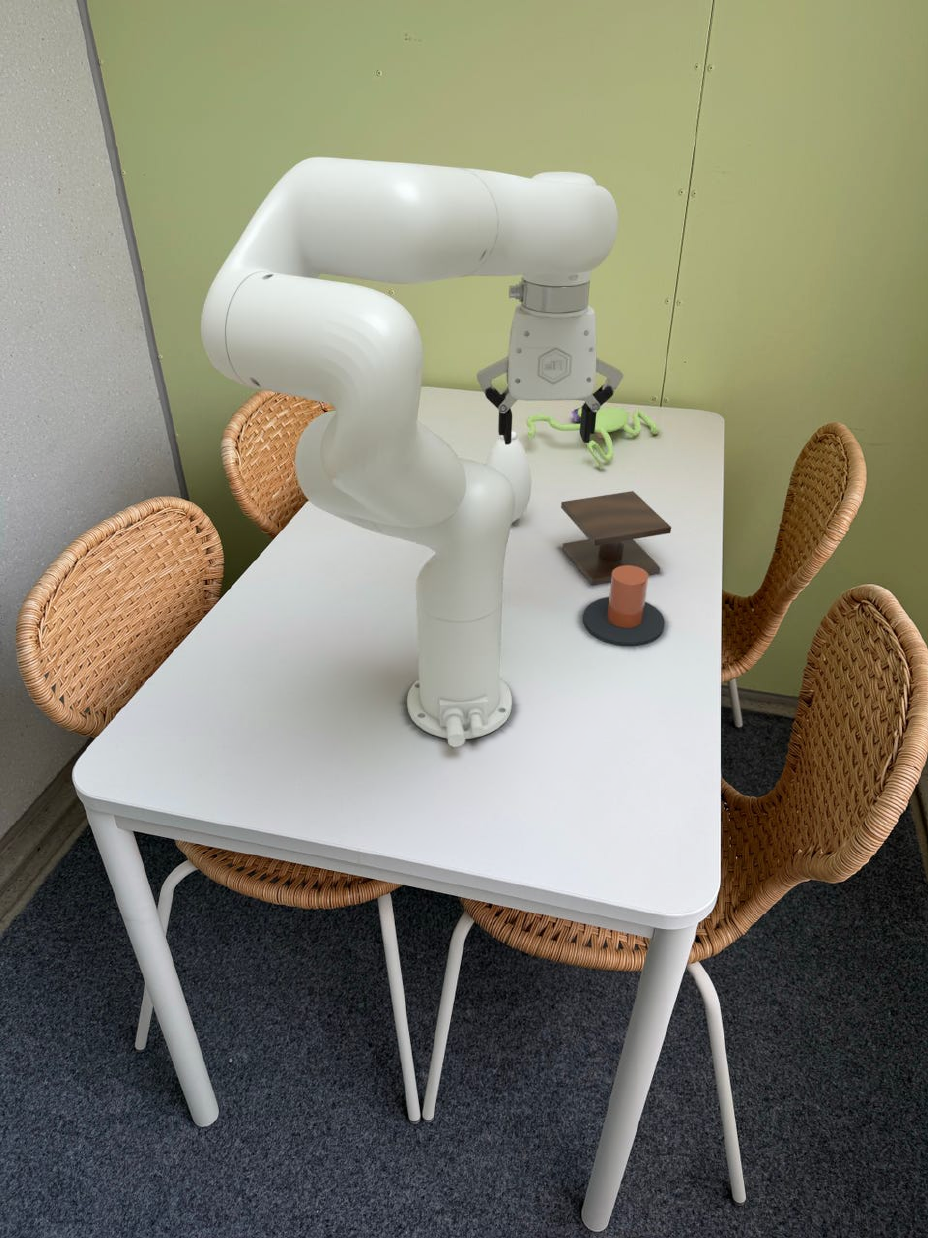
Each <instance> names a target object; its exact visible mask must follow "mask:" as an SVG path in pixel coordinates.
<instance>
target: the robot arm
mask: <svg viewBox="0 0 928 1238" xmlns="http://www.w3.org/2000/svg"><path fill="white" fill-rule="evenodd" d="M618 228H619V214H618V208H617V205H616V202H615V199H614V197H613V196H612V194H611V192H610V191H609V190H608V189H607V188H605V187H604V186H602V185H597V183H596V181H595V179H594V178H593V177H592V176H590V175H588V174H586V173H581V172H575V171H547V172H540V173H537V174H535V175H534V176H532V177H531V178H530V177H525V176H521V175H516V174H511V173H505V172H500V171H494V170H485V169H479V168H472V167H471V168H468V167H467V168H466V167H455V166H445V165H444V166H443V165H432V164H423V163H422V164H421V163H411V162H400V161H399V162H396V161H382V160H370V159H369V160H368V159H355V158H341V157H329V156H312V157H307V158H305V159H302V160H300V161H299V162H298V163H296V164H295V165H293V166H292V167H291V168H290V169H289V170H288V171H287V172H286V173H284V174H283V176H282V177H280V179H279V180H278V181H277V182H276V184H275V185H274V186H273V187H272V188H271V190H270V191H269V192H268V194H267V195H266V197H265V198H264V199H263V201H262V202H261V204H260V205H259V207H258V208H257V210H256V211H255V213H254V214H253V216H252V217H251V219H250V220H249V222H248V224H247V226H246V227H245V229H244V231H243V232H242V234H241V235H240V237H239V239H238V240H237V242H236V244H235V245H234V246H233V248H232V250H231V251H230V253H229V254H228V256H227V258H226V259H225V261H223V264H222V265H221V267H220V268H219V270H218V272H217V273H216V276H215V277H214V279H213V281H212V282H211V285H210V287H209V289H208V291H207V293H206V294H207V295H206V296H205V300H204V303H203V307H202V310H201V311H202V312H201V318H200V337H201V343H202V347H203V350H204V352H205V354H206V356H207V358H208V360H209V362H210V363H211V365H212V367H213V368H215V370H217V372H218V373H219V374H221V375H222V376H223V377H225V378H226V379H228V380H230V381H232V382H234V383H236V384H238V385H242V386H246V387H248V388H251V389H256V390H262V391H267V392H271V393H277V394H281V395H286V396H291V397H296V398H300V399H304V400H305V399H306V400H309V401H314V402H319V403H323V404H324V403H325V404H329V405H331V406H332V407H333V408H334V410H329V411H326V412H323V413H321V414H319V415H318V416H316V417H315V418H314V419H312V420H311V421H310V422H309V423H308V424H307V426H306V427H305V429H304V430H303V432H302V433H301V435H300V436H299V437H300V438H299V439H298V442H297V445H296V449H295V455H294V470H295V477H296V479H297V483H298V486H299V488H300V490H301V491H302V493H303V495H304V497H305V498H306V500H308V501H309V503H311V504H312V505H313V506H314V507H316V508H318V509H320V510H321V511H324V512H325V513H327V514H330V515H332V516H335V517H337V518H339V519H341V520H344V521H346V522H348V523H350V524H353V525H355V526H357V527H360V528H362V529H365V530H368V531H371V532H374V533H377V534H381V535H385V536H389V537H392V538H396V539H400V540H404V541H407V542H411V543H415V544H417V545H420V546H423V547H427V548H430V549H431V550H433V551H434V555H432V556H431V557H430V558H429V559H428V560H427V561H426V562H425V563H424V565H423V566H422V567H421V569H420V570H419V572H418V575H417V577H416V583H415V604H416V605H415V607H416V631H417V656H418V657H417V659H418V677H419V678H418V679H416V680H415V681H414V683H413V684H412V685H411V686H410V688H409V690H408V693H407V697H406V705H407V707H406V708H407V711H408V715H409V716H410V719H411V721H412V722H413V723H414V724H415V725H416V726H417V727H419V728H420V729H422V730H423V731H424V732H426V733H428V734H429V735H431V736H432V735H433V736H436V737H439V738H443V739H447V743H448V745H449V746H450V747H453V748H459V747H462V746H463V745H464V744H465V743H466V740H471V739H475V738H480V737H483V736H485V735H488V734H491V733H493V732H494V731H496V730H498V729H499V728H501V727H502V725H504V724H505V723H506V722H507V720H508V719H509V717H510V716H511V712H512V709H513V708H512V707H513V695H512V692H511V689H510V687H509V686H508V685H507V683H506V681H504V680H503V679H502V678H501V656H502V655H501V653H502V652H501V651H502V648H501V647H502V623H503V622H502V621H503V619H502V618H503V617H502V616H503V615H502V614H503V588H504V587H503V585H504V571H505V569H504V568H505V560H506V553H507V547H508V543H509V542H508V541H509V538H510V537H509V536H510V532H511V528H512V525H513V522H512V520H513V515H514V509H515V494H514V489H513V487H512V484H511V483H510V481H509V480H508V479H507V478H506V477H505V476H504V475H503V474H502V473H501V472H499V471H498V470H496V469H494V468H492V467H490V466H487V465H486V463H482V462H479V461H475V460H472V459H467V458H462V457H460V456H459V455H458V454H457V453H456V451H455V450H454V448H453V447H452V446H451V445H450V444H449V443H448V442H447V441H445V440H444V439H443V437H441V436H440V435H438V434H437V433H436V432H434V431H433V430H432V429H430V428H429V427H427V425H426V424H424V423H422V422H421V421H420V420H419V419H418V417H419V407H420V401H421V394H422V393H421V392H422V382H423V373H424V371H423V370H424V348H423V346H424V345H423V341H422V337H421V334H420V330H419V328H418V325H417V323H416V322H415V319H414V318H413V316H412V315H411V313H410V312H409V311H408V310H407V308H406V307H404V305H402V304H401V303H400V302H399V301H397V300H396V299H394V298H393V297H391V296H389V295H388V294H386V293H383V292H381V291H378V290H376V289H373V288H371V287H367V286H363V285H360V284H355V283H349V282H341V281H334V280H327V279H322V278H319V276H320V275H321V274H322V275H330V276H337V277H338V276H339V277H342V278H351V279H357V280H363V281H364V280H365V281H371V282H372V281H373V282H379V283H387V284H395V285H413V284H420V283H428V282H434V281H435V282H436V281H437V282H438V281H443V280H451V279H458V278H465V277H466V278H467V277H511V276H521V278H520V279H521V280H520V281H519V282H518V283H517V284H515V285H509V286H508V298H509V299H515V300H518V301H519V303H521V304H518V305H516V307H515V309H514V313H513V317H512V321H511V327H510V333H509V340H508V349H507V356H506V357H503V358H502V359H499V360H498V361H496V362H494V363H492V364H490V365H488V366H486V367H485V368H483V369H481V370H478V372H476V379H477V382H478V384H479V386H480V387H481V390H482V392H483V393H484V395H485V398H486V399H487V401H489V402H490V403H491V404H492V405H493V406H494V407H495V408H496V409H497V410H498V424H497V425H498V426H497V429H498V431H497V432H498V436H500V435H503V437H504V441H505V445H506V444H510V443H511V437H512V431H513V411H512V407H513V405H515V403H516V402H517V401H525V402H526V401H527V402H528V401H529V402H530V401H532V402H533V401H534V402H535V401H537V402H538V401H540V402H542V401H545V402H546V401H579V400H580V401H581V400H582V401H583V402H584V403H583V404H582V405H581V407H582V410H581V421H579V424H580V430H579V436H580V438H581V441H582V443H584V444H587V443H589V442H590V441H591V435H594V434H595V433H596V432H595V424H596V414H597V411H599V410H600V409H601V408H602V406H603V405H604V404H605V403H606V402H607V401H608V400H610V399H611V398H612V397H613V396H614V392H615V390H617V388H618V387H619V385H620V383H621V382H622V380H623V379H624V374H623V373H622V371H621V370H620V369H619V368H617V367H615V366H613V365H612V364H609V363H608V362H606V361H604V360H602V359H600V358H598V357H597V323H596V322H597V320H596V311H595V309H593V308H592V306H590V305H589V297H590V296H589V295H590V285H591V275H592V274H591V273H592V271H594V270H595V269H597V268H598V267H600V266H601V265H602V264H603V263H604V262H605V261H606V259H607V258H608V256H609V255H610V253H611V251H612V249H613V247H614V246H615V242H616V239H617V234H618V231H619V229H618ZM596 373H598V374H600V375H602V376H603V377H606V379H605V382H604V384H602V385H601V386H600V387H599V388H598V389H596V390H595V387H596V376H597V375H596ZM503 374H505V375H506V384H507V386H506V387H505V388H504V390H503V391H502V392H501V393H500V391H498V390H497V388H496V387H495V386H494V385H493V382H492V381H493V380H494V379H496V378H498V377H500V376H502V375H503Z"/></svg>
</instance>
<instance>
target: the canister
mask: <svg viewBox="0 0 928 1238" xmlns="http://www.w3.org/2000/svg"><path fill="white" fill-rule="evenodd" d="M649 576H650V575H648V573H647V572H646V571H645V570H643V569H642V568H639V567H636V566H631V565H624V566H619V567H617V568H615V569H614V570H613V571H612V576H611V582H610V585H609V594H608V595H609V596H608V597H609V602H608V611H607V619H608V620H609V622H610V623H612V624H613V625H615V626H618V627H622V628H632V627H636V626H638V625H639V624H641V622H642V619H643V612H644V605H645V602H646V599H647V590H648V584H649Z"/></svg>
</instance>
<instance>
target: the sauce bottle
mask: <svg viewBox="0 0 928 1238" xmlns="http://www.w3.org/2000/svg"><path fill="white" fill-rule="evenodd" d="M517 437H518V433H517V432H516V431H514V430H512V437H511V443H510V444H506V445H505V441H504V437H503V435H499V438H498V439H497V440H496V441H495V443H494V444H493V446H492V448H491V449H490V451H489V454H488V456H487V459H486V462H485V465H487V466H490V467H492V468H494V469H496V470H498V471H499V472H501V473H502V474H503V475H504V476H505V477H506V478H507V479H508V480H509V481H510V483H511V484H512V487H513V489H514V494H515V509H514V515H513V520H512V523H514V522H516V521H517V520H519V519H520V518H521V517H522V516H523V514H524V513H525V511H526V510H527V507H528V505H529V502H530V500H531V495H532V472H531V466H530V463H529V459H528V456H527V454H526V451H525V448H524V446H523V445H522V443H521V442H520V440H519V439H518V438H517Z"/></svg>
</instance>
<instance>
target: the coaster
mask: <svg viewBox="0 0 928 1238" xmlns="http://www.w3.org/2000/svg"><path fill="white" fill-rule="evenodd" d="M608 602H609V596H607V597H601V598H598V599H596V600H594V601H592V602H591V603H589V604H588V605H587V606H586V608H584V611H583V614H582V622H583V625H584V628H585V630H587V632H588V633H590V634H591V635H592V636H593V637H595V639H598V640H600V641H602V642H606V643H608V644H612V645H616V646H623V647H636V646H643V645H646V644H649V643H652V642H654V641H656V640H657V639H658V638H660V636H661V635H662V634H663V632H664V630H665V625H666V624H665V623H666V622H665V618H664V616H663V614H662V612H660V610H659V609H658V608H657V607H655V606H654V605H652V604H651V603H649V602H647V601H645V605H644V612H643V619H642V622H641V624H639V625H638V626H636V627H632V628H622V627H618V626H615V625H613V624H612V623H610V622H609V620H608V619H607V611H608Z"/></svg>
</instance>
